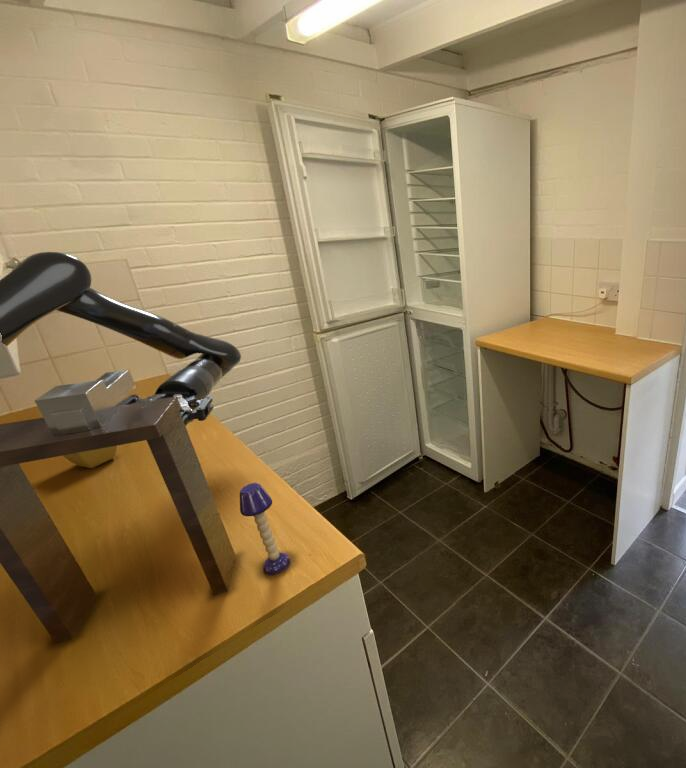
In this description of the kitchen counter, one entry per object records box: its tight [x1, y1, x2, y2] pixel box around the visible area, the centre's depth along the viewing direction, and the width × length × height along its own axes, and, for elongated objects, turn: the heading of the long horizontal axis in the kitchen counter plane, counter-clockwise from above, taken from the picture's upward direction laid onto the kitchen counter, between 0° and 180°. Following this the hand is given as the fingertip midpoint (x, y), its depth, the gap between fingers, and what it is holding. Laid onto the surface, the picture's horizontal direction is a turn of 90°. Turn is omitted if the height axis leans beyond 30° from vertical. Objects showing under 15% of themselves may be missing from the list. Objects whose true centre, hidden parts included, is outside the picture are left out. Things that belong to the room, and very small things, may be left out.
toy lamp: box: [239, 482, 291, 576], centre depth 71 cm, size 5×5×17 cm
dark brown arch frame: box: [0, 397, 237, 644], centre depth 62 cm, size 22×10×32 cm, turn 113°
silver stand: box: [34, 369, 137, 435], centre depth 60 cm, size 5×16×5 cm, turn 23°
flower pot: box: [62, 445, 118, 469], centre depth 105 cm, size 9×9×9 cm
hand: (146, 426), depth 74 cm, fingers open, 8 cm apart
